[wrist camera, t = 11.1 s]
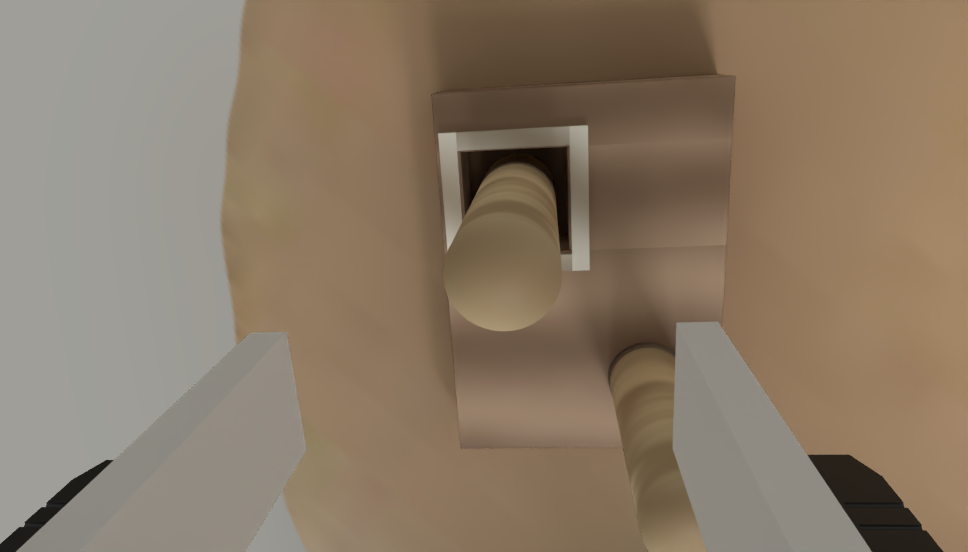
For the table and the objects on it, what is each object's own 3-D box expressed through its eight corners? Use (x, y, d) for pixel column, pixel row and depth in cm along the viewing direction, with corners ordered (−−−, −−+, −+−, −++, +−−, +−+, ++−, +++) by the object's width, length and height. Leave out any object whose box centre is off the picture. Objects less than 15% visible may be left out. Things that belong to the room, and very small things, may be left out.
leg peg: (555, 223, 33) (564, 330, 20) (484, 225, 34) (447, 333, 20) (554, 151, 32) (561, 214, 19) (480, 154, 33) (437, 219, 19)
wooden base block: (701, 416, 36) (794, 623, 23) (466, 418, 37) (425, 616, 24) (717, 74, 31) (851, 85, 17) (441, 90, 32) (369, 113, 19)
